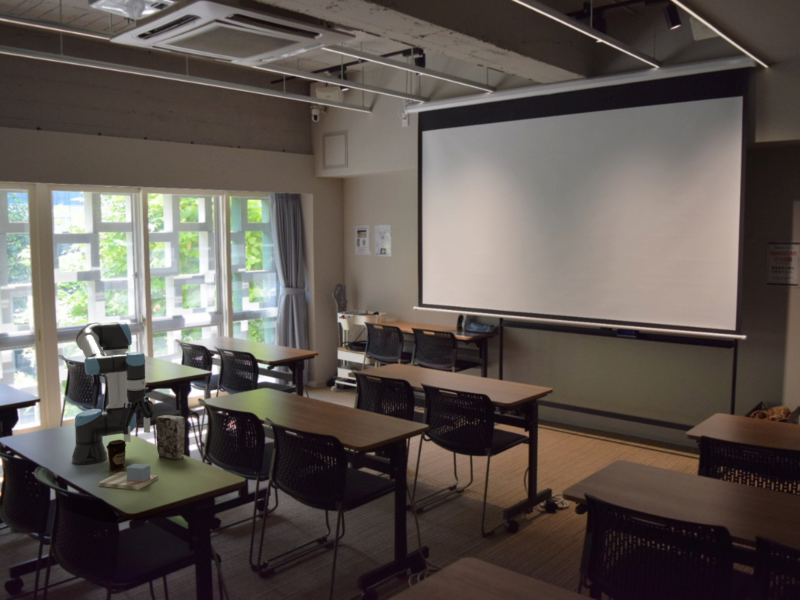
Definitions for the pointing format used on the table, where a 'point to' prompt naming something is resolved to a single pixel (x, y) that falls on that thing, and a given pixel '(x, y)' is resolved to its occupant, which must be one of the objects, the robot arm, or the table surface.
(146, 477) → the block
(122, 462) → the coffee cup
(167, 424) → the stone block
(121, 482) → the board
